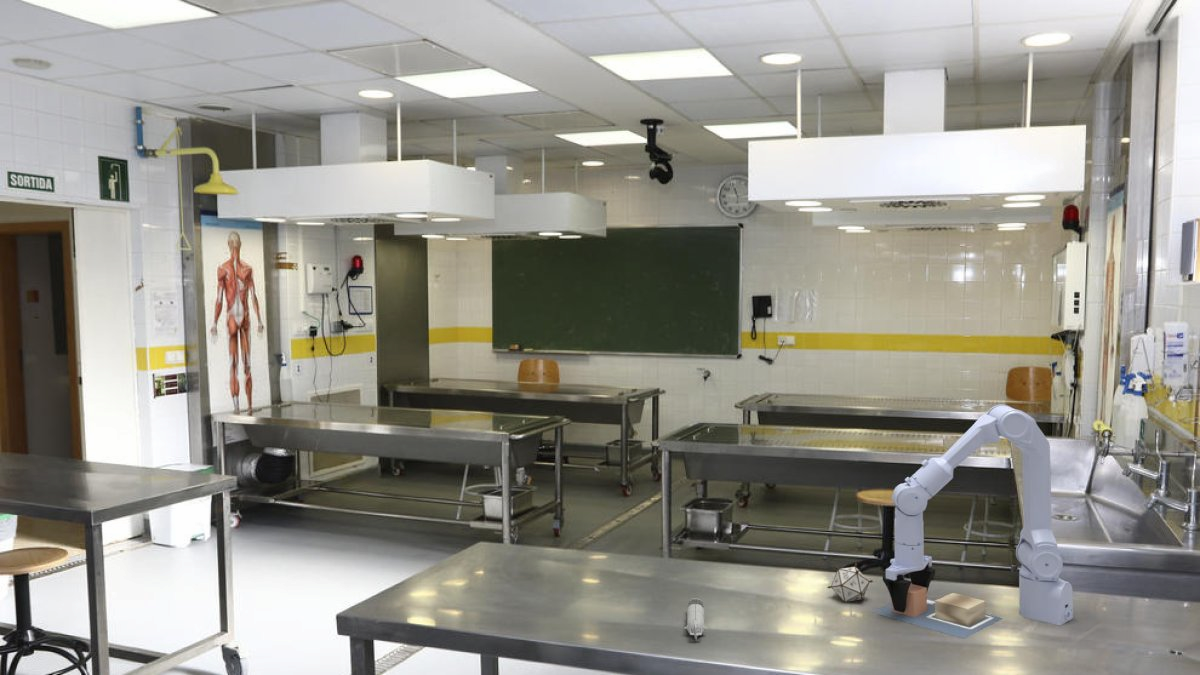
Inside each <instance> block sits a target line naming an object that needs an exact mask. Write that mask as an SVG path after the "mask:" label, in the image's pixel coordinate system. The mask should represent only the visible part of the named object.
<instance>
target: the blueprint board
mask: <svg viewBox="0 0 1200 675" xmlns="http://www.w3.org/2000/svg"><path fill="white" fill-rule="evenodd" d="M935 600H936V599H931V598H928V597H927V612H925V613H922V614H920V615H918V616H916V617H911V616H908V615H904V614H900V613H897V612H893V611H892V603H891V604H888V605H886V606H884V607H881V608H879V609H875V610H874V611H872V612H871V613H874V614H877V615H880V616H884V617H886V618H890V619H894V620H898V621H901V622H904V623H908V624H911V625H914V626H918V627H922V628H925V629H929V630H932V631H935V632H939V633H943V634H946V635H949V636H954V637H955V638H959V639H966V638H968V637H970V636H971V635H974V634H976V633H977V632H980V631H981V630H983V629H985V628H987V627H989V626H991V625H994V624H995V623H997V622H999V621H1000V620H1003V619H1004V618H1003V617H1001V616H997V615H993V614H989V613H986V612H985V618H984V619H982V620H980V621H978V622H976V623H974V624H972V625H970V626H964V625H961V624H957V623H953V622H950V621H946V620H943V619H939V618H935Z"/></svg>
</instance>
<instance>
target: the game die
mask: <svg viewBox="0 0 1200 675" xmlns="http://www.w3.org/2000/svg"><path fill="white" fill-rule="evenodd" d="M835 569H837V571H836V573H835V576H834V578H833V581H832V583H831V585H828V586H827V587H826V588H827V589H832V590H833V591H834V592H835V594H836V595H838V596H839V598H840V599H841V600H842V601H843V603H847V602H854V601H855V602H856V601H861V600H862V601H863V600H864V596H865V594H866V592H867V590H868V587H869V585H870V583H873V582H874V580H873V579H870V580H869V579H868V578H867V577H866V576H865V575H864V574H863V573H862V572H861V571H860V569H858V564H857V563H855V564H854V566H851V567H849V566H848V567H841V568H839V566H838V565H835Z"/></svg>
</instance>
